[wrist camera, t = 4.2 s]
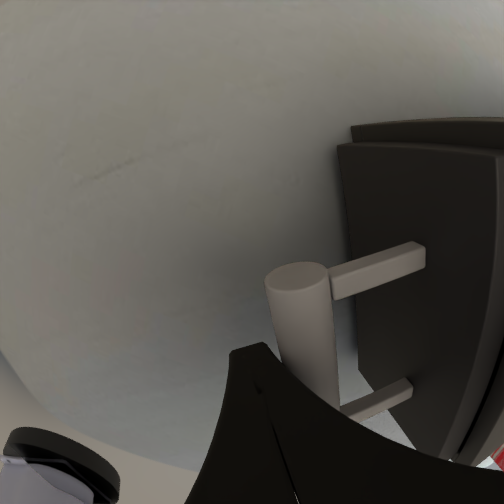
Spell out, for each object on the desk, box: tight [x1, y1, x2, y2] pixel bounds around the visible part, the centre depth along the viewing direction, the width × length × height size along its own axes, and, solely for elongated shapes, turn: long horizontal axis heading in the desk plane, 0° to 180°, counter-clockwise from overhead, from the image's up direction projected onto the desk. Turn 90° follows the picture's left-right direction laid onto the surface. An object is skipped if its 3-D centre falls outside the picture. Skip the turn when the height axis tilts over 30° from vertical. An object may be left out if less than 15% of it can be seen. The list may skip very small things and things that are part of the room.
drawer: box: [264, 141, 504, 460], centre depth 9 cm, size 17×10×7 cm, turn 103°
